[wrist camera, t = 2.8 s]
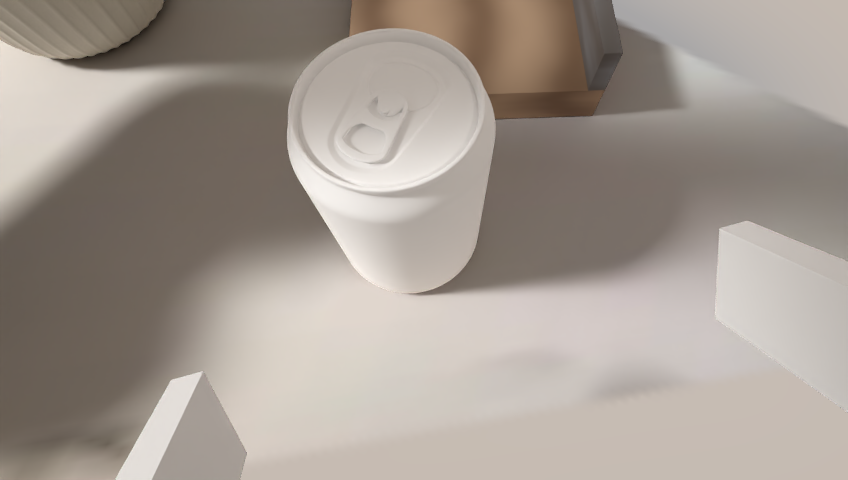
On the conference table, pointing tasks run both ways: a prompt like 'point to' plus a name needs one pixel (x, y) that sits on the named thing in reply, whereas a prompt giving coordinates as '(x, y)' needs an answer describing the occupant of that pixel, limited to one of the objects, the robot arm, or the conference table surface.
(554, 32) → the shelf board
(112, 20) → the canister
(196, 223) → the conference table surface
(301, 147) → the beverage can
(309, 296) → the conference table surface
